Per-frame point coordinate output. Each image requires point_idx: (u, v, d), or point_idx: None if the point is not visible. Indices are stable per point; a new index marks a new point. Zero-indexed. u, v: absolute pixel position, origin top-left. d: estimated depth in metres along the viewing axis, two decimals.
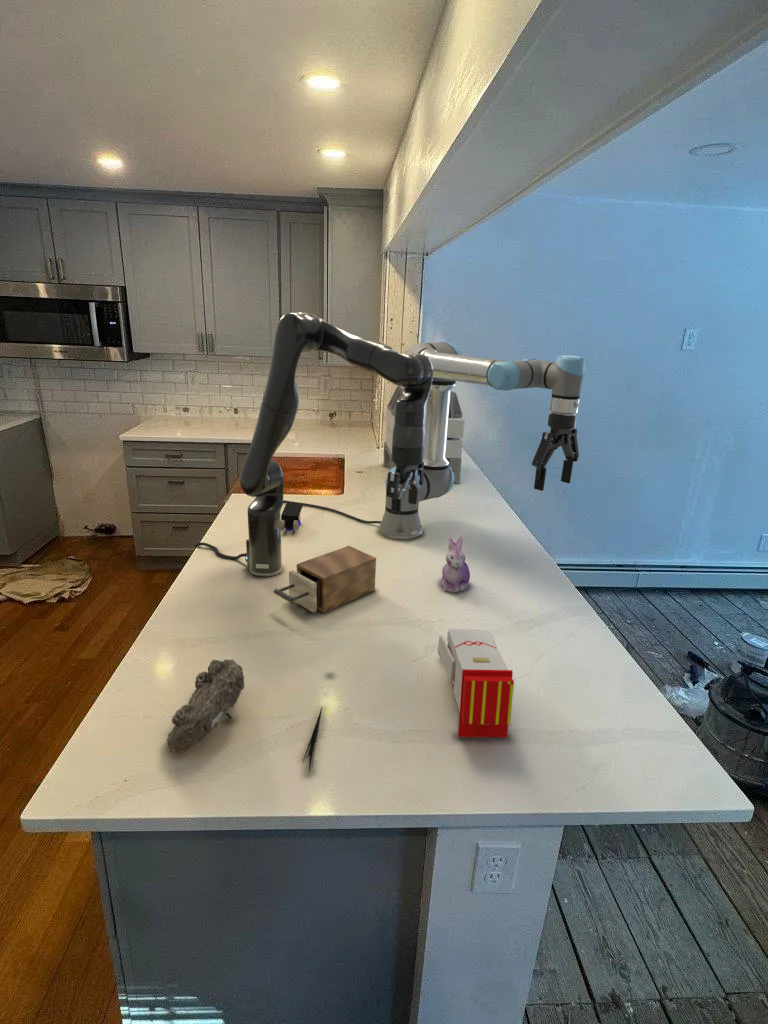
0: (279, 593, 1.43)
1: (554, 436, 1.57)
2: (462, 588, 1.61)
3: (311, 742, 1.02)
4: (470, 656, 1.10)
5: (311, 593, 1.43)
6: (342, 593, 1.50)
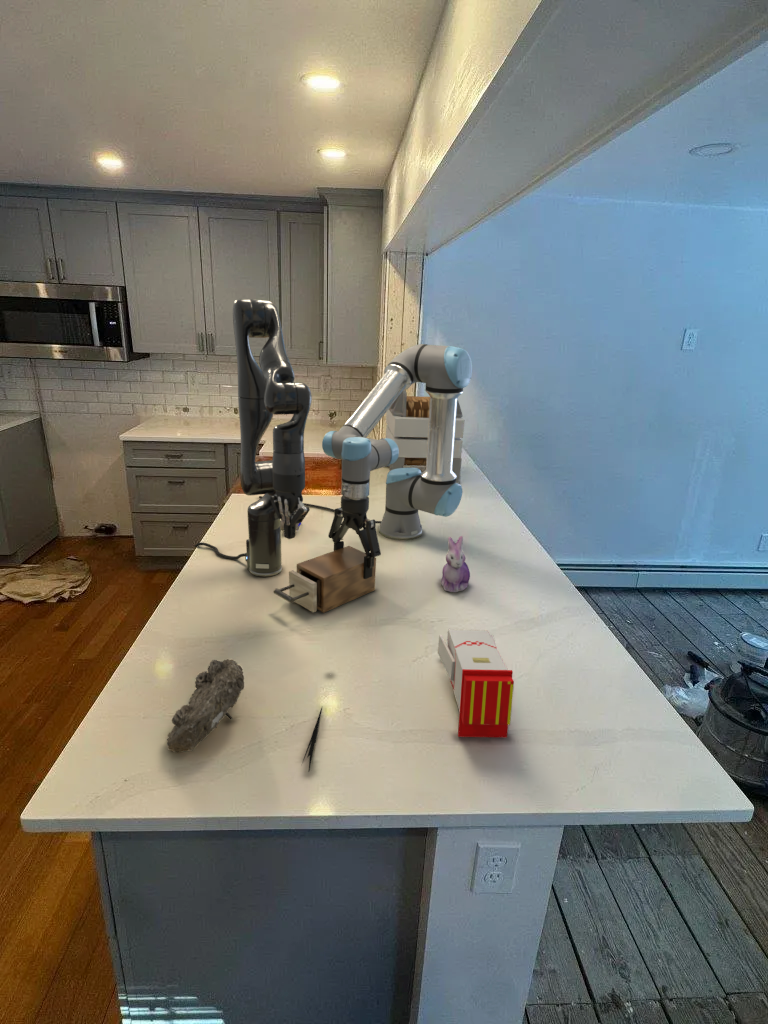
0: (279, 593, 1.43)
1: None
2: (462, 588, 1.61)
3: (311, 742, 1.02)
4: (470, 656, 1.10)
5: (311, 593, 1.43)
6: (342, 593, 1.50)
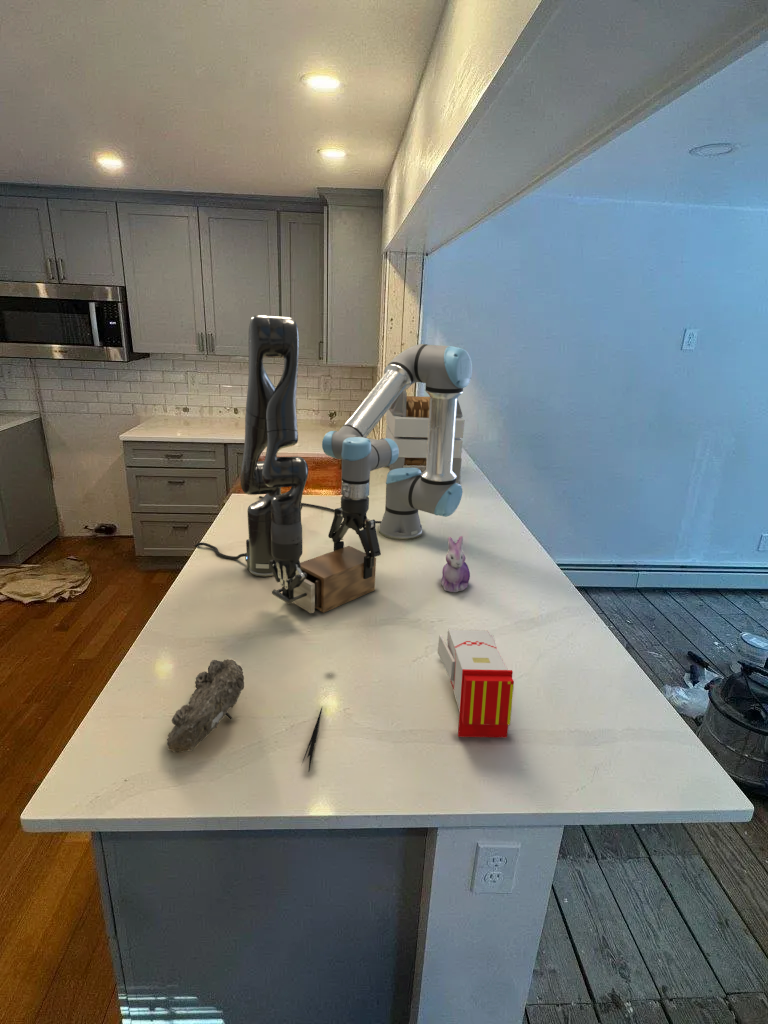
0: (277, 594, 1.42)
1: None
2: (462, 588, 1.61)
3: (311, 742, 1.02)
4: (470, 656, 1.10)
5: (309, 594, 1.43)
6: (342, 593, 1.50)
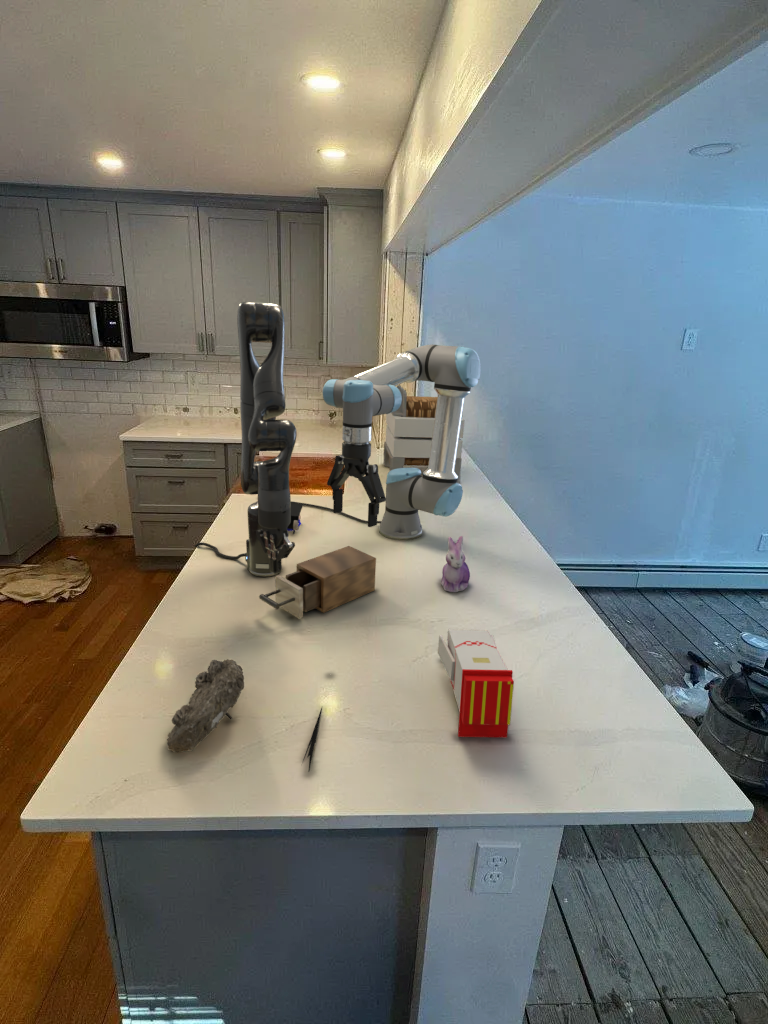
0: (264, 599, 1.40)
1: None
2: (462, 588, 1.61)
3: (311, 742, 1.02)
4: (470, 656, 1.10)
5: (297, 599, 1.40)
6: (342, 593, 1.50)
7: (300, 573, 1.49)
